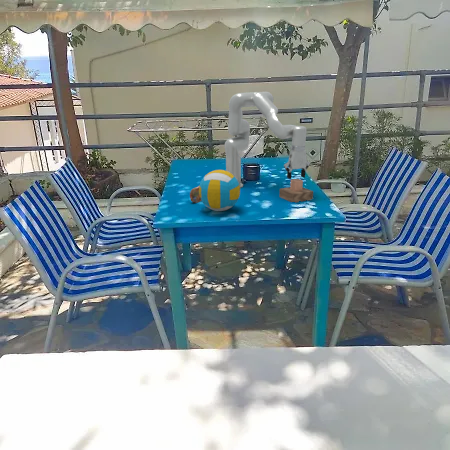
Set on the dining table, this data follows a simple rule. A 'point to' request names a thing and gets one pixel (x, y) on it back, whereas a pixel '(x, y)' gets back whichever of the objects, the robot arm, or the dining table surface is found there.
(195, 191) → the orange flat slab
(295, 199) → the walnut block
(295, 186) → the terracotta block
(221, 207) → the volleyball
